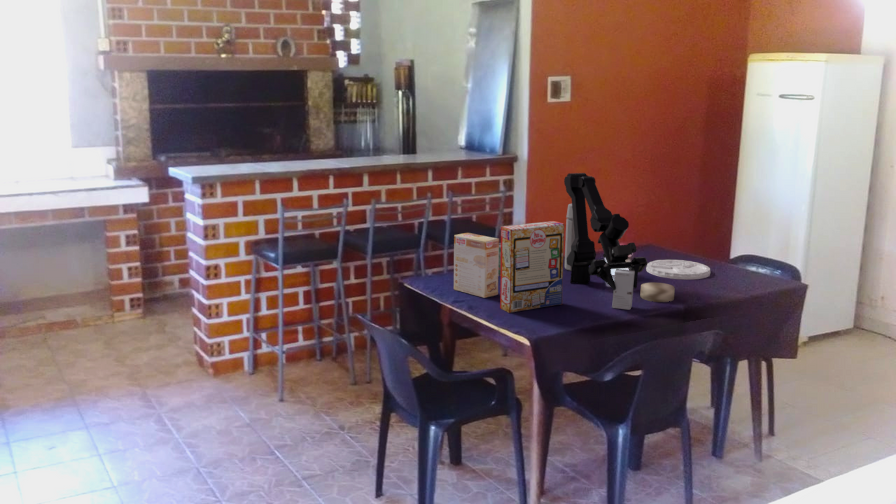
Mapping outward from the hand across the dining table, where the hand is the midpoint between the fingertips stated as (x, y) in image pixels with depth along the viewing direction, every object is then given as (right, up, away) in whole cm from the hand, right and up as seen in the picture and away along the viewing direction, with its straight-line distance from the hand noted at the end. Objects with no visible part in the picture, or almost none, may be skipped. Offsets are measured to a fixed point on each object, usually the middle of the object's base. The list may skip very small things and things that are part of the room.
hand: (625, 288), depth 258 cm
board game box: (-30, -6, +3) cm, 31 cm away
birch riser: (+14, -4, +14) cm, 20 cm away
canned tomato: (-35, +3, +44) cm, 56 cm away
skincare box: (0, -6, +3) cm, 7 cm away
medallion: (+30, +4, +51) cm, 60 cm away
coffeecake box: (-47, -2, +19) cm, 51 cm away
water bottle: (-8, +5, +53) cm, 53 cm away
